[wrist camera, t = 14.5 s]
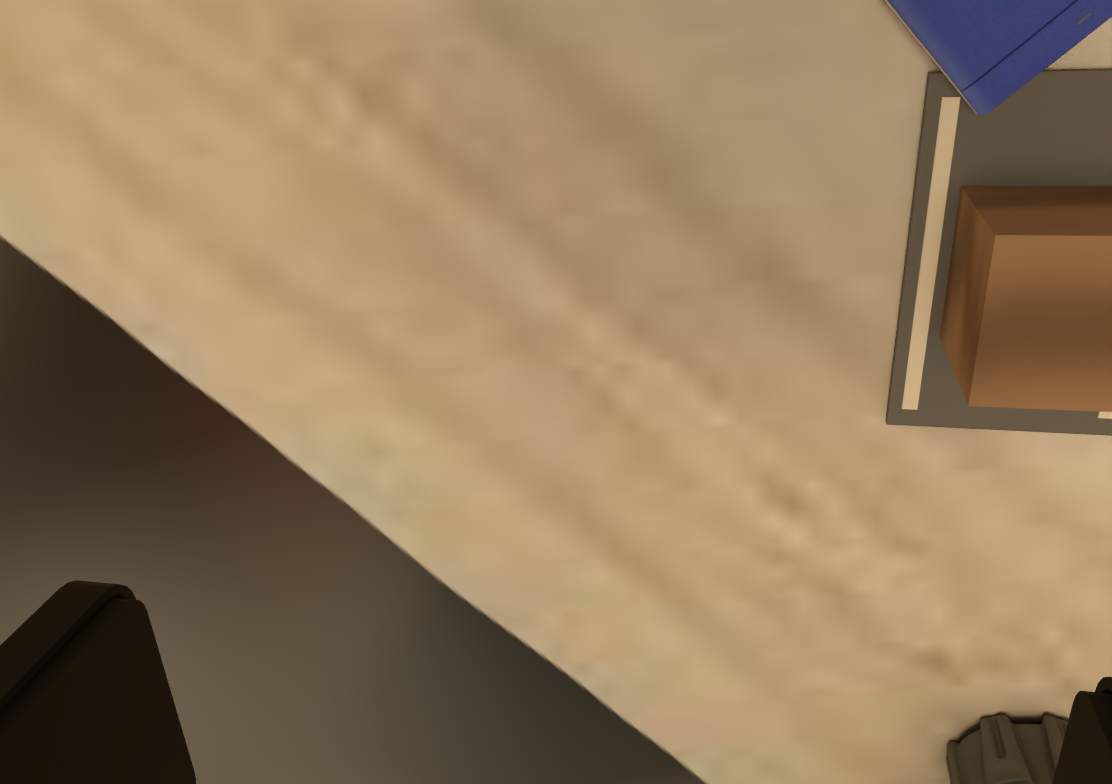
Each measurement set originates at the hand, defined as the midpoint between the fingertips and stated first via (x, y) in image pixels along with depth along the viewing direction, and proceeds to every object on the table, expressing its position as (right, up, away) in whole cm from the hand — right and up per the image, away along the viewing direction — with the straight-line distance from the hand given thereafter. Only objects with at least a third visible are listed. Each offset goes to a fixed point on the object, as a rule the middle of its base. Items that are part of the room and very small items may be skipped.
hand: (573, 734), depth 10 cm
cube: (+18, +8, +26) cm, 33 cm away
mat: (+18, +8, +27) cm, 33 cm away
